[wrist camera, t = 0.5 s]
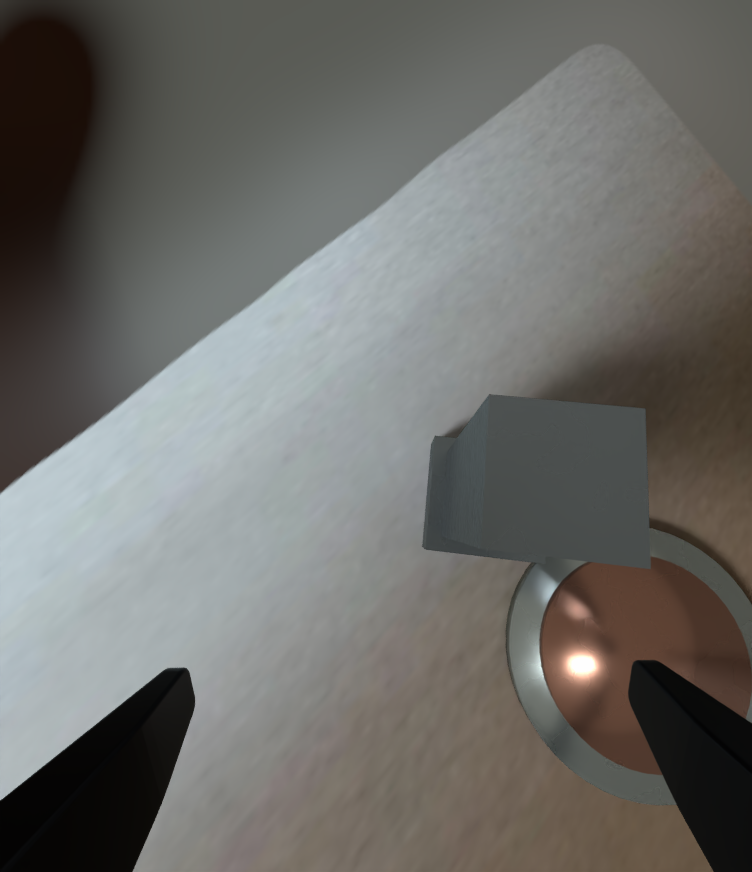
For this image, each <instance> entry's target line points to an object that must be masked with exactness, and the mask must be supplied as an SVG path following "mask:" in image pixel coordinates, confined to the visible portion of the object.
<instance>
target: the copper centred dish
mask: <svg viewBox="0 0 752 872" xmlns="http://www.w3.org/2000/svg"><path fill="white" fill-rule="evenodd" d="M649 530H650V559H651V569H645V568H637V567H628V566H620V565H612V564H603V563H595V562H586V561H578V560H570V559H561V558H553V557H546V560H545V564H542V563H533V562H532V563H531V564H530V565H529V567H528V568H527V569H526V571H525V572H524V574H523V576H522V577H521V579H520V581H519V583H518V585H517V587H516V589H515V592H514V594H513V597H512V600H511V604H510V607H509V611H508V617H507V624H506V653H507V662H508V667H509V671H510V676H511V680H512V683H513V686H514V689H515V691H516V694H517V697H518V699H519V701H520V703H521V705H522V707H523V709H524V711H525V713H526V715H527V717H528V718H529V720H530V721H531V723H532V725H533V726H534V728H535V729H536V731H537V732H538V734H539V735H540V737H541V738H542V740H543V741H544V742H545V743H546V744H547V746H548V747H549V748H550V749H551V750H552V752H553V753H554V754H555V755H556V756H557V757H558V758H559V759H560V760H561V761H562V762H563V763H564V764H565V765H566V766H567V767H568V768H569V769H571V770H572V771H573V772H575V773H576V774H577V775H579V776H580V777H581V778H583V779H584V780H585V781H587V782H589V783H590V784H592V785H594V786H596V787H597V788H599V789H601V790H603V791H605V792H607V793H610V794H612V795H614V796H617V797H619V798H622V799H626V800H630V801H634V802H637V803H643V804H652V805H677V804H676V802H675V800H674V798H673V796H672V794H671V792H670V790H669V788H668V786H667V784H666V782H665V780H664V777H663V775H662V773H661V771H660V769H659V766H658V764H657V762H656V760H655V758H654V756H653V753H652V751H651V749H650V747H649V745H648V743H647V740H646V738H645V736H644V734H643V732H642V729H641V727H640V725H639V723H638V721H637V719H636V716H635V714H634V712H633V710H632V708H631V705H630V702H629V698H628V688H629V681H630V675H631V668H632V664H633V662H634V661H636V660H657V661H659V662H661V663H662V664H664V665H665V666H667V667H668V668H670V669H671V670H673V671H674V672H676V673H677V674H679V675H680V676H682V677H683V678H685V679H686V680H688V681H689V682H691V683H692V684H694V685H695V686H697V687H698V688H700V689H701V690H703V691H704V692H706V693H707V694H709V695H710V696H712V697H713V698H715V699H716V700H718V701H719V702H721V703H722V704H724V705H725V706H727V707H728V708H730V709H731V710H733V711H734V712H736V713H737V714H739V715H740V716H742V717H743V718H745V719H746V720H748V721H749V722H751V723H752V604H751V603H750V601H749V600H748V598H747V597H746V595H745V593H744V592H743V590H742V589H741V588H740V587H739V585H738V584H737V583H736V582H735V581H734V579H733V578H732V577H731V576H730V575H729V574H728V573H727V572H726V571H725V570H724V569H723V568H722V567H721V566H720V565H719V564H718V563H717V562H716V561H714V560H713V559H712V558H710V557H709V556H708V555H707V554H705V553H704V552H703V551H701V550H700V549H698V548H696V547H695V546H693V545H691V544H690V543H688V542H686V541H684V540H682V539H680V538H678V537H676V536H673V535H671V534H668V533H665V532H662V531H659V530H656V529H652V528H649Z"/></svg>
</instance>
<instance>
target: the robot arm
mask: <svg viewBox="0 0 752 872" xmlns="http://www.w3.org/2000/svg"><path fill="white" fill-rule="evenodd" d="M628 698H629V702H630V705H631V708H632V710H633V712H634V714H635V716H636V719H637V721H638V723H639V725H640V727H641V729H642V732H643V734H644V736H645V738H646V740H647V743H648V745H649V747H650V749H651V751H652V753H653V756H654V758H655V760H656V762H657V764H658V766H659V769H660V771H661V773H662V775H663V777H664V780H665V782H666V784H667V786H668V788H669V790H670V792H671V794H672V796H673V798H674V800H675V802H676V804H677V806H678V808H679V810H680V812H681V814H682V815H683V817H684V819H685V821H686V823H687V825H688V826H689V828H690V830H691V832H692V834H693V835H694V837H695V839H696V841H697V843H698V844H699V846H700V848H701V850H702V851H703V853H704V855H705V857H706V859H707V860H708V862H709V864H710V866H711V868H712V869H713V871H714V872H752V723H751V722H749V721H748V720H746V719H745V718H743V717H742V716H740V715H739V714H737V713H736V712H734V711H733V710H731V709H730V708H728V707H727V706H725V705H724V704H722V703H721V702H719V701H718V700H716V699H715V698H713V697H712V696H710V695H709V694H707V693H706V692H704V691H703V690H701V689H700V688H698V687H697V686H695V685H694V684H692V683H691V682H689V681H688V680H686V679H685V678H683V677H682V676H680V675H679V674H677V673H676V672H674V671H673V670H671V669H670V668H668V667H667V666H665V665H664V664H662V663H661V662H659V661H657V660H636V661H634V662H633V664H632V668H631V675H630V681H629V688H628ZM194 707H195V695H194V691H193V686H192V682H191V677H190V673H189V671H188V669H187V668H168V669H165V670H164V671H162V672H161V673H160V674H159V675H157V676H156V677H155V678H154V679H152V680H151V681H150V682H148V683H147V684H146V685H145V686H143V687H142V688H141V689H140V690H138V691H137V692H136V693H135V694H133V695H132V696H131V697H130V698H128V699H127V700H126V701H125V702H123V703H122V704H121V705H120V706H118V707H117V708H116V709H115V710H113V711H112V712H111V713H110V714H108V715H107V716H106V717H105V718H103V719H102V720H101V721H100V722H98V723H97V724H96V725H95V726H93V727H92V728H91V729H90V730H88V731H87V732H86V733H85V734H83V735H82V736H81V737H79V738H78V739H77V740H76V741H74V742H73V743H72V744H71V745H69V746H68V747H67V748H66V749H64V750H63V751H62V752H61V753H59V754H58V755H57V756H56V757H54V758H53V759H52V760H51V761H49V762H48V763H47V764H46V765H44V766H43V767H42V768H41V769H39V770H38V771H37V772H36V773H34V774H33V775H32V776H31V777H29V778H28V779H27V780H26V781H24V782H23V783H22V784H21V785H19V786H18V787H17V788H15V789H14V790H13V791H12V792H10V793H9V794H8V795H7V796H5V797H4V798H3V799H2V800H0V872H132V871H133V869H134V867H135V865H136V862H137V860H138V858H139V855H140V853H141V851H142V848H143V846H144V844H145V842H146V839H147V837H148V835H149V832H150V830H151V828H152V825H153V823H154V821H155V818H156V816H157V814H158V811H159V809H160V806H161V804H162V801H163V799H164V796H165V793H166V790H167V788H168V785H169V782H170V779H171V776H172V773H173V770H174V767H175V764H176V761H177V759H178V756H179V753H180V750H181V747H182V744H183V741H184V738H185V735H186V732H187V729H188V726H189V723H190V720H191V717H192V715H193V711H194Z"/></svg>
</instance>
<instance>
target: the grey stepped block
mask: <svg viewBox="0 0 752 872" xmlns="http://www.w3.org/2000/svg"><path fill="white" fill-rule="evenodd" d="M422 547H423V548H424V549H426V550H434V551H442V552H450V553H459V554H467V555H475V556H484V557H492V558H500V559H508V560H517V561H525V562H533V563H542V564H545V560H546V557H553V558H561V559H570V560H578V561H586V562H595V563H603V564H612V565H620V566H628V567H637V568H645V569H651V559H650V530H649V500H648V470H647V441H646V411H645V408H635V407H623V406H612V405H601V404H590V403H579V402H568V401H557V400H546V399H535V398H524V397H513V396H502V395H491V394H489V395H488V397H487V398H486V399H485V401H484V402H483V404H482V405H481V406H480V408H479V409H478V410H477V412H476V413H475V414H474V416H473V417H472V419H471V420H470V421H469V423H468V424H467V425H466V427H465V428H464V429H463V431H462V432H461V433H460V435H459V436H458V438H452V437H442V436H435V437H434V439H433V441H432V444H431V450H430V462H429V474H428V486H427V497H426V509H425V521H424V533H423V544H422Z"/></svg>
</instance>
